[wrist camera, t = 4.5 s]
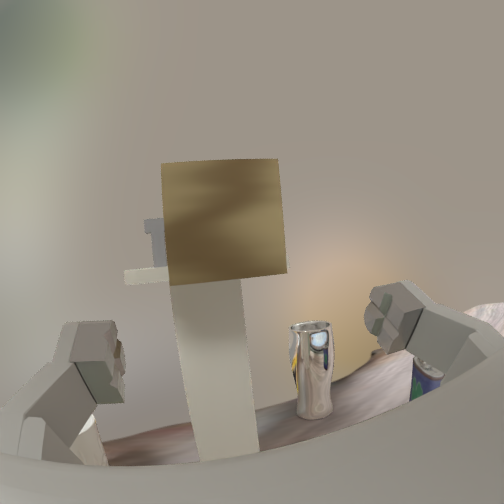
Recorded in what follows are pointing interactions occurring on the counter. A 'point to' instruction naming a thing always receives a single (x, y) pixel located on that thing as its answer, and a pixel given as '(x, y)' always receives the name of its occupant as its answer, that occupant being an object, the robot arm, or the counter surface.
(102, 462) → the white cup
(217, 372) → the tall stand
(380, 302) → the robot arm
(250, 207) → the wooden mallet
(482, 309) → the counter surface
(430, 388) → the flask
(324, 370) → the beer glass
